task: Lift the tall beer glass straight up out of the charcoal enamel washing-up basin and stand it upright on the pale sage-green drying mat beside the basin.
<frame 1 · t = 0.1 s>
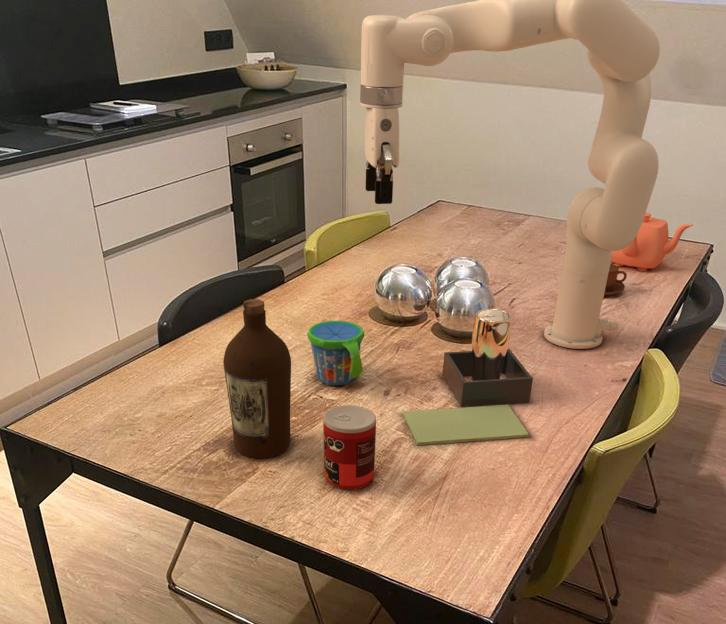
hand: (378, 196, 145), 31 cm above the table, tool pointing down, fingers open, 9 cm apart
canned food: (349, 478, 121), on the table
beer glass: (484, 389, 148), resting in basin
olive oil: (262, 445, 129), on the table
drying mat: (464, 425, 136), on the table
snack cup: (336, 379, 150), on the table
cup and saucer: (598, 291, 195), on the table
basin: (484, 388, 148), on the table
teapot: (635, 265, 213), on the table
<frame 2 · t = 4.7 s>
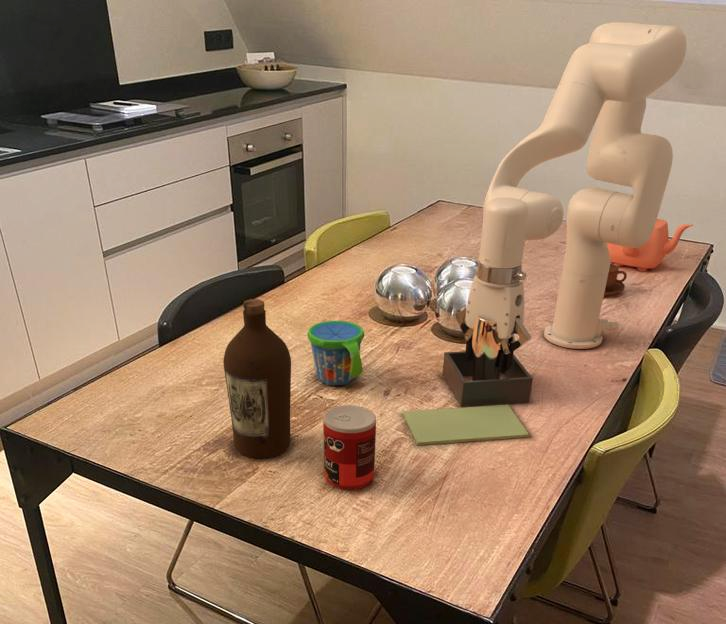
hand: (487, 363, 145), 5 cm above the table, tool pointing down, fingers closed on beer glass, 6 cm apart
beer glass: (484, 389, 148), resting in basin, touching gripper
everything else where it was.
when the fingers open (6 cm above the table, at t = 12.2 s): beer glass stays where it is, resting on drying mat.
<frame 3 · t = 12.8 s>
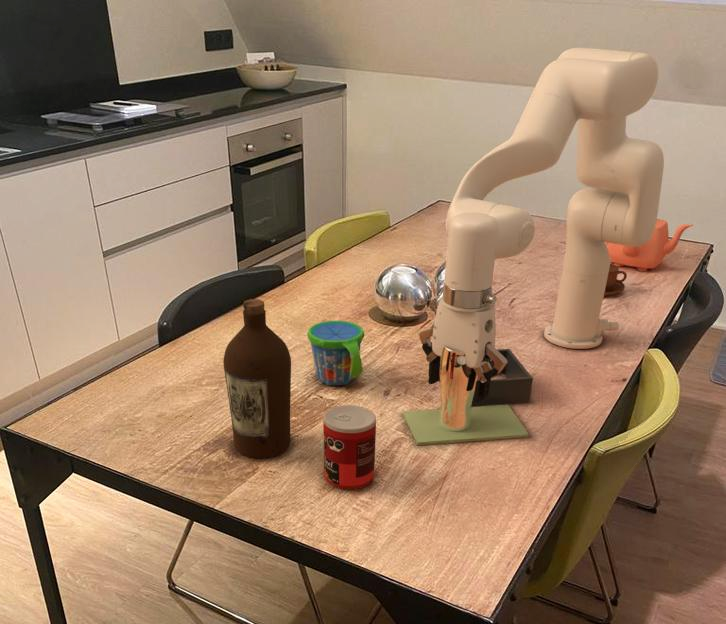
hand: (457, 390, 131), 7 cm above the table, tool pointing down, fingers open, 9 cm apart
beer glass: (454, 424, 135), resting on drying mat
everything else where it was.
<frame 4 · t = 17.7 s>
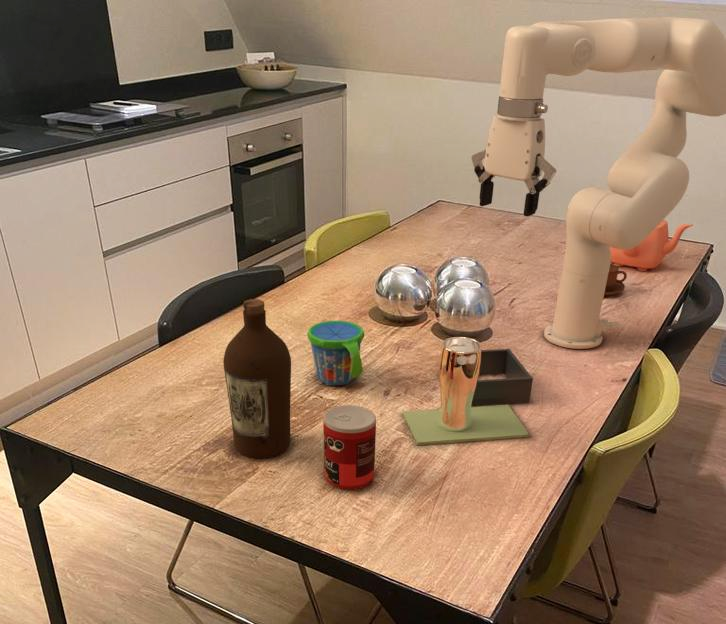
hand: (507, 209, 142), 30 cm above the table, tool pointing down, fingers open, 9 cm apart
nothing on the table moved.
at the end: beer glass inside the target area on the drying mat (1.9 cm from its centre), point 0.4 cm above the drying mat's base; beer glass tilted 0°; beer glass touching drying mat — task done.
